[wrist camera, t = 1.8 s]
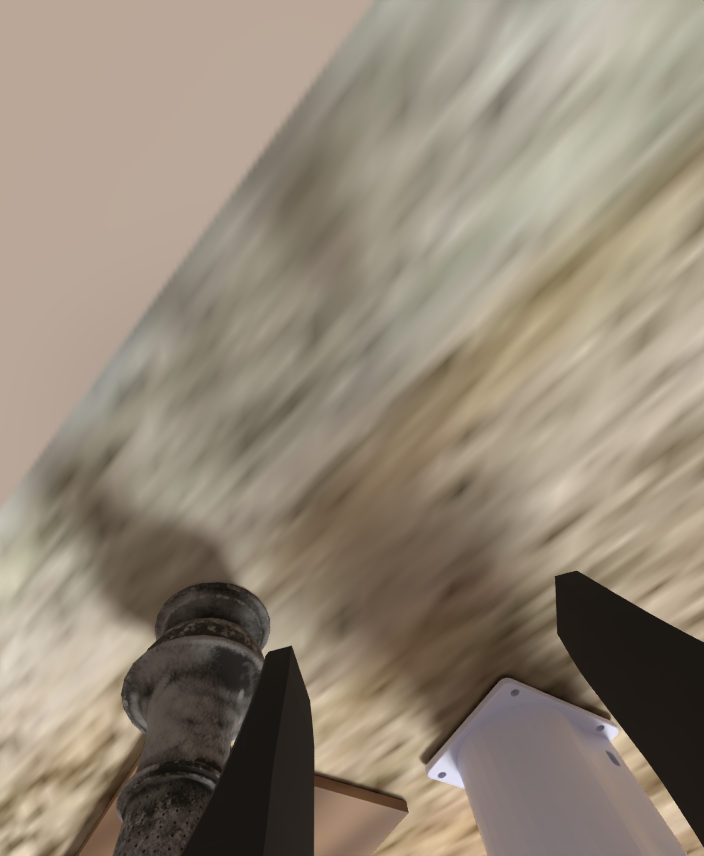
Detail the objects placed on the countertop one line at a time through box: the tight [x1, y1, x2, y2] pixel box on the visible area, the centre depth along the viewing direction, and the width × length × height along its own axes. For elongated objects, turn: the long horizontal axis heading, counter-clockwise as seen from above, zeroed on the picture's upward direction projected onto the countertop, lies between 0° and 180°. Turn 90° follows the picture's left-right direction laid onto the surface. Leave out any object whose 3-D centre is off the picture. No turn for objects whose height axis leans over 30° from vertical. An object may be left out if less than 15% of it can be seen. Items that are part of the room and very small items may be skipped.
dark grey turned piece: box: [112, 583, 270, 856], centre depth 15 cm, size 6×6×12 cm
